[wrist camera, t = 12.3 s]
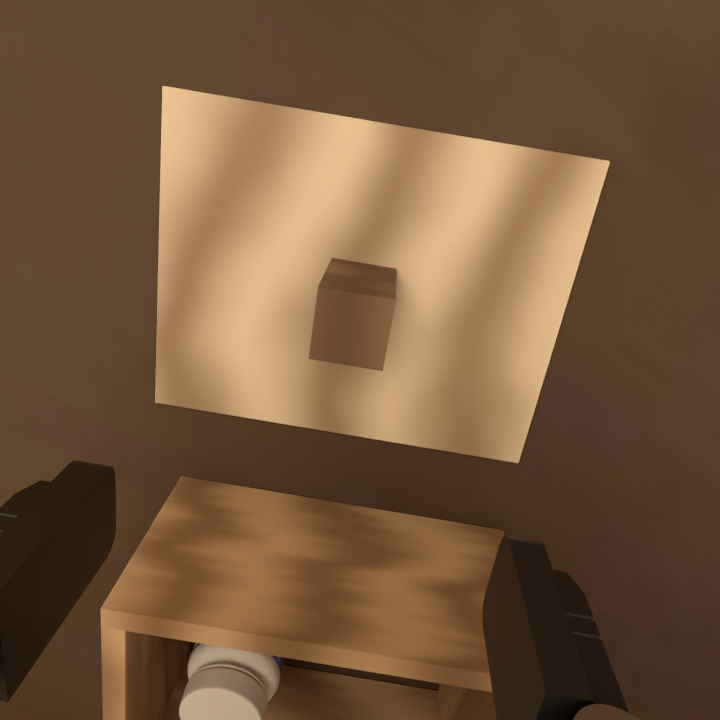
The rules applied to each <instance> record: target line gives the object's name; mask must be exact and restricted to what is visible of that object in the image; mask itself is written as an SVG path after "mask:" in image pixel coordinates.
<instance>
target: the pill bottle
mask: <svg viewBox="0 0 720 720" xmlns="http://www.w3.org/2000/svg"><path fill="white" fill-rule="evenodd" d="M284 660H285V657H279V656H273V655H267V654H261V653H255V652H249V651H243V650H237V649H231V648H225V647H219V646H213V645H207V644H201V643H195V645H194V648H193V650H192V653H191V655H190V658H189V661H188V668H187V673H188V679H189V681H188V683H187V685H186V688H185V691H184V694H183V697H182V700H181V703H180V706H179V716H180V719H181V720H263V719H264V716H265V712H266V709H267V702H268V701H269V700H270V699H271V698H272V697H273V696H274V694H275V693H276V691H277V688H278V686H279V683H280V679H281V674H282V669H283V664H284Z"/></svg>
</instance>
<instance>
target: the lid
mask: <svg viewBox="0 0 720 720" xmlns="http://www.w3.org/2000/svg"><path fill="white" fill-rule="evenodd" d="M609 164H610V161H605V160H600V159H594V158H588V157H582V156H576V155H570V154H564V153H558V152H552V151H546V150H540V149H534V148H528V147H522V146H517V145H511V144H505V143H499V142H493V141H487V140H481V139H475V138H469V137H463V136H457V135H451V134H445V133H439V132H433V131H428V130H422V129H416V128H410V127H404V126H398V125H392V124H386V123H380V122H374V121H368V120H362V119H356V118H350V117H345V116H339V115H333V114H327V113H321V112H315V111H309V110H303V109H297V108H291V107H285V106H279V105H273V104H267V103H262V102H256V101H250V100H244V99H238V98H232V97H226V96H220V95H214V94H208V93H202V92H196V91H190V90H184V89H179V88H173V87H167V86H162V129H161V172H160V215H159V258H158V301H157V344H156V387H155V403H161V404H167V405H173V406H179V407H185V408H191V409H197V410H203V411H209V412H215V413H221V414H227V415H233V416H239V417H245V418H251V419H257V420H263V421H269V422H275V423H281V424H287V425H293V426H299V427H305V428H311V429H316V430H322V431H328V432H334V433H340V434H346V435H352V436H358V437H364V438H370V439H376V440H382V441H388V442H394V443H400V444H406V445H412V446H418V447H424V448H430V449H436V450H442V451H448V452H454V453H460V454H466V455H472V456H478V457H484V458H490V459H496V460H502V461H508V462H514V463H519V460H520V456H521V453H522V450H523V446H524V443H525V440H526V437H527V433H528V430H529V427H530V423H531V420H532V417H533V414H534V410H535V407H536V404H537V400H538V397H539V394H540V390H541V387H542V384H543V381H544V377H545V374H546V371H547V367H548V364H549V361H550V358H551V354H552V351H553V348H554V344H555V341H556V338H557V335H558V331H559V328H560V325H561V321H562V318H563V315H564V312H565V308H566V305H567V302H568V298H569V295H570V292H571V289H572V285H573V282H574V279H575V275H576V272H577V269H578V265H579V262H580V259H581V256H582V252H583V249H584V246H585V242H586V239H587V236H588V233H589V229H590V226H591V223H592V219H593V216H594V213H595V210H596V206H597V203H598V200H599V196H600V193H601V190H602V187H603V183H604V180H605V177H606V173H607V170H608V167H609Z"/></svg>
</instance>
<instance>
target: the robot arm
mask: <svg viewBox="0 0 720 720" xmlns="http://www.w3.org/2000/svg"><path fill="white" fill-rule="evenodd" d="M115 531H116V489H115V471H114V469H113V467H111V466H105V465H99V464H93V463H87V462H82V461H72V462H71V463H70V464H68V465H67V466H66V467H65V468H64V469H63V471H62V472H61V473H60V474H59V475H58V476H57V477H56V478H55V479H54V480H53V481H52V482H47V481H39V482H37V483H35V484H33V485H31V486H29V487H27V488H25V489H23V490H22V491H20V492H18V493H16V494H14V495H13V496H12V497H11V498H10V499H9V500H8V501H7V502H6V503H5V504H4V505H3V506H2V507H1V508H0V701H4V702H8V701H9V700H10V698H11V697H12V695H13V694H14V693H15V691H16V690H17V688H18V687H19V685H20V684H21V682H22V681H23V679H24V678H25V677H26V675H27V674H28V672H29V671H30V669H31V668H32V666H33V665H34V663H35V662H36V660H37V659H38V658H39V656H40V655H41V653H42V652H43V650H44V649H45V647H46V646H47V644H48V643H49V642H50V640H51V639H52V637H53V636H54V634H55V633H56V631H57V630H58V628H59V627H60V625H61V624H62V623H63V621H64V620H65V618H66V617H67V615H68V614H69V612H70V611H71V609H72V608H73V606H74V605H75V604H76V602H77V601H78V599H79V598H80V596H81V595H82V593H83V592H84V590H85V589H86V588H87V586H88V585H89V583H90V582H91V580H92V579H93V577H94V576H95V574H96V573H97V571H98V570H99V569H100V567H101V566H102V564H103V563H104V561H105V560H106V558H107V556H108V554H109V552H110V550H111V547H112V544H113V541H114V537H115ZM482 622H483V631H484V638H485V644H486V651H487V658H488V665H489V672H490V678H491V685H492V692H493V699H494V705H495V712H496V719H497V720H638V719H637V718H636V717H634V716H632V715H631V714H629V712H628V709H627V707H626V704H625V701H624V699H623V696H622V693H621V691H620V688H619V685H618V683H617V680H616V677H615V675H614V672H613V669H612V666H611V664H610V661H609V658H608V656H607V653H606V650H605V648H604V645H603V642H602V640H600V634H599V631H598V629H597V626H596V623H595V621H593V615H592V613H591V610H590V607H589V605H588V602H587V599H586V597H585V594H584V593H583V591H582V590H581V589H580V588H579V587H578V585H577V584H576V583H575V582H574V581H573V579H572V578H571V577H570V576H569V575H568V573H567V572H561V571H555V570H552V567H551V564H550V561H549V558H548V555H547V552H546V549H545V546H544V544H543V543H542V542H540V541H534V540H528V539H523V538H517V537H511V536H504V537H503V538H502V540H501V542H500V545H499V549H498V552H497V555H496V558H495V562H494V565H493V568H492V572H491V575H490V578H489V582H488V585H487V588H486V592H485V596H484V601H483V611H482Z"/></svg>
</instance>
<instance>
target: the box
mask: <svg viewBox="0 0 720 720" xmlns="http://www.w3.org/2000/svg"><path fill="white" fill-rule="evenodd" d="M504 536H505V535H504V531H503V530H499V529H493V528H487V527H481V526H475V525H469V524H463V523H458V522H452V521H446V520H440V519H434V518H428V517H422V516H416V515H410V514H404V513H398V512H392V511H386V510H380V509H374V508H368V507H362V506H356V505H350V504H344V503H338V502H332V501H327V500H321V499H315V498H309V497H303V496H297V495H291V494H285V493H279V492H273V491H267V490H261V489H255V488H249V487H243V486H237V485H231V484H225V483H219V482H213V481H207V480H202V479H196V478H190V477H184V476H181V477H180V479H179V481H178V482H177V484H176V485H175V487H174V489H173V490H172V492H171V494H170V495H169V497H168V499H167V500H166V502H165V504H164V505H163V507H162V508H161V510H160V512H159V513H158V515H157V517H156V518H155V520H154V522H153V523H152V525H151V527H150V528H149V530H148V532H147V533H146V535H145V536H144V538H143V540H142V541H141V543H140V545H139V546H138V548H137V550H136V551H135V553H134V555H133V556H132V558H131V560H130V561H129V563H128V564H127V566H126V568H125V569H124V571H123V573H122V574H121V576H120V578H119V579H118V581H117V583H116V584H115V586H114V588H113V589H112V591H111V592H110V594H109V596H108V597H107V599H106V601H105V602H104V604H103V606H102V607H101V645H102V694H103V720H181V719H180V716H179V706H180V703H181V700H182V697H183V694H184V691H185V688H186V685H187V683H188V681H189V679H188V673H187V668H188V661H189V658H190V655H191V653H192V650H190V649H189V643H190V642H195V643H201V644H207V645H213V646H219V647H225V648H231V649H237V650H243V651H249V652H255V653H261V654H267V655H273V656H279V657H285V658H291V659H296V660H302V661H308V662H314V663H320V664H326V665H332V666H338V667H344V668H350V669H356V670H362V671H368V672H374V673H380V674H386V675H392V676H398V677H404V678H410V679H416V680H422V681H428V682H434V683H440V684H439V687H438V691H435V690H429V689H423V688H417V687H411V686H405V685H399V684H393V683H387V682H381V681H375V680H369V679H363V678H357V677H351V676H345V675H339V674H333V673H327V672H321V671H315V670H309V669H304V668H298V667H292V666H286V665H283V669H282V674H281V679H280V683H279V686H278V688H277V691H276V693H275V694H274V696H273V697H272V698H271V699H270V700H269V701H268V702H267V709H266V712H265V716H264V719H263V720H497V719H496V712H495V705H494V699H493V692H492V685H491V678H490V672H489V665H488V658H487V651H486V644H485V638H484V631H483V622H482V611H483V601H484V596H485V592H486V588H487V585H488V582H489V578H490V575H491V572H492V568H493V565H494V562H495V558H496V555H497V552H498V549H499V545H500V542H501V540H502V538H503V537H504Z"/></svg>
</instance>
